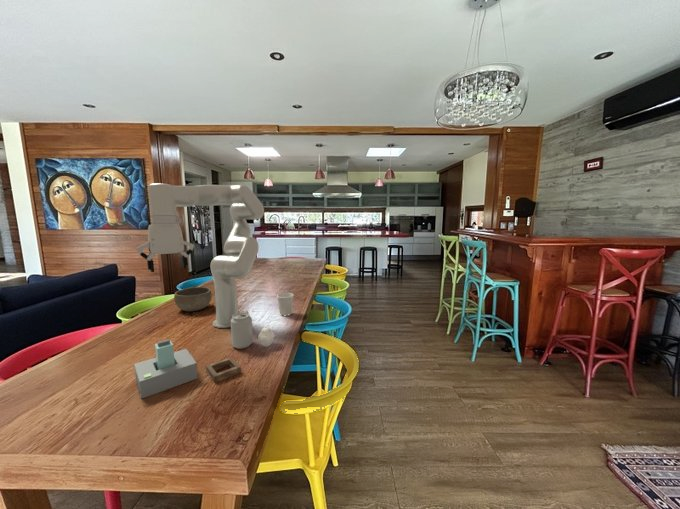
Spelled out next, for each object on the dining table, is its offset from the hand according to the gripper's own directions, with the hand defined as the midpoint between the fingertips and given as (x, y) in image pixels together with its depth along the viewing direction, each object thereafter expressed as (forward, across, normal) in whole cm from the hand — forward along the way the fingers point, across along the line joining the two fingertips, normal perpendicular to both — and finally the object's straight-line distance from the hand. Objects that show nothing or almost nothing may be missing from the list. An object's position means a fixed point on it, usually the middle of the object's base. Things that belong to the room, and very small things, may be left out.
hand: (168, 269), depth 95 cm
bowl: (+31, -18, -46) cm, 58 cm away
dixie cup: (+31, -50, -6) cm, 59 cm away
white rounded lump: (+31, -27, +18) cm, 45 cm away
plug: (+29, +6, +18) cm, 35 cm away
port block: (+30, +6, +18) cm, 36 cm away
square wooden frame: (+30, -8, +26) cm, 41 cm away
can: (+31, -20, +12) cm, 38 cm away
